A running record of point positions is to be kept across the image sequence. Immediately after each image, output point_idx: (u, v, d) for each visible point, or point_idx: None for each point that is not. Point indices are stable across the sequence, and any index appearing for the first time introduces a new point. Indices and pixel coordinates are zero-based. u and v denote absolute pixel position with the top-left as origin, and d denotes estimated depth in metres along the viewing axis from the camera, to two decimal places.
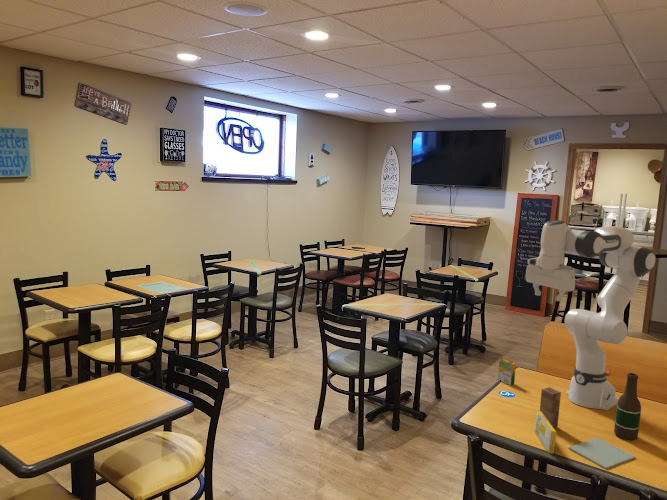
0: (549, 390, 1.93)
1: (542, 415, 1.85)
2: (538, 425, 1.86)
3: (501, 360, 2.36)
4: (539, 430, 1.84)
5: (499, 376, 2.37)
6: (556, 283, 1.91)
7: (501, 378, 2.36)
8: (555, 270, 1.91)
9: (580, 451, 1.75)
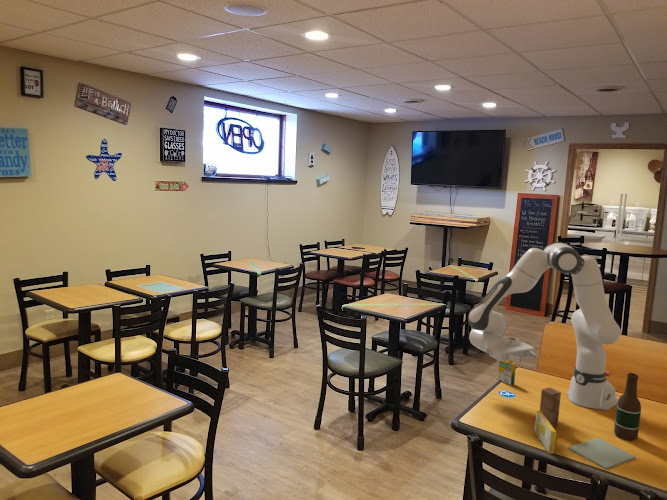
0: (549, 390, 1.93)
1: (542, 415, 1.85)
2: (538, 425, 1.86)
3: None
4: (539, 430, 1.84)
5: (499, 376, 2.37)
6: None
7: (501, 378, 2.36)
8: None
9: (580, 451, 1.75)
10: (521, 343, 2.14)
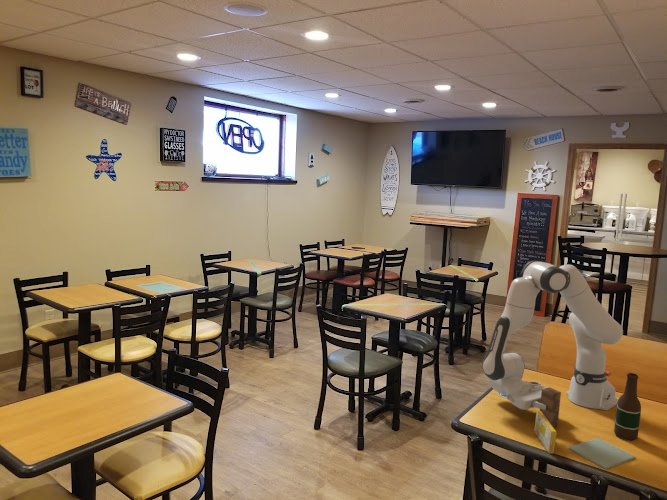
0: (549, 390, 1.93)
1: (542, 415, 1.85)
2: (538, 425, 1.86)
3: None
4: (539, 430, 1.84)
5: None
6: None
7: None
8: None
9: (580, 451, 1.75)
10: (544, 387, 2.05)
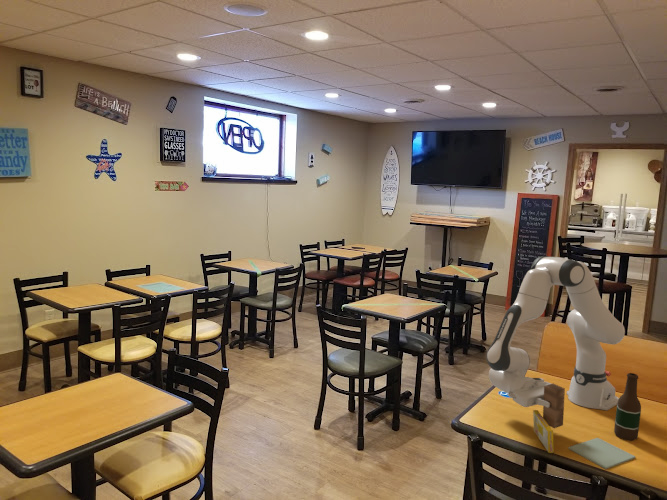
0: (552, 387, 1.81)
1: (539, 414, 1.85)
2: (536, 425, 1.86)
3: None
4: (538, 430, 1.84)
5: None
6: None
7: None
8: None
9: (580, 451, 1.75)
10: (547, 384, 1.93)
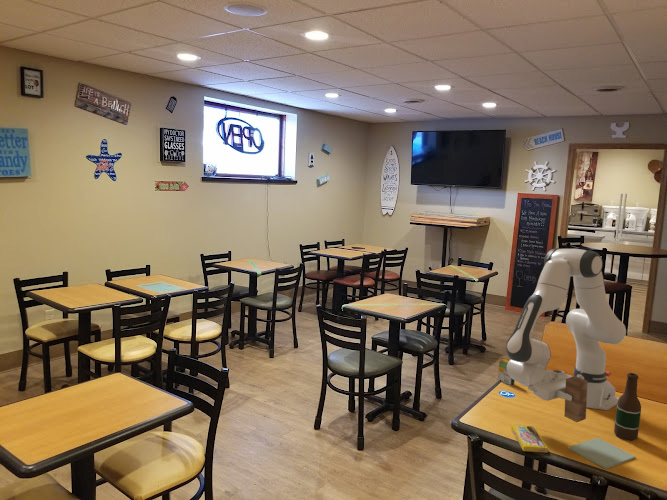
0: (574, 379, 1.74)
1: (513, 430, 1.87)
2: None
3: (501, 360, 2.36)
4: None
5: (499, 376, 2.37)
6: None
7: (501, 378, 2.36)
8: None
9: (580, 451, 1.75)
10: (568, 376, 1.86)
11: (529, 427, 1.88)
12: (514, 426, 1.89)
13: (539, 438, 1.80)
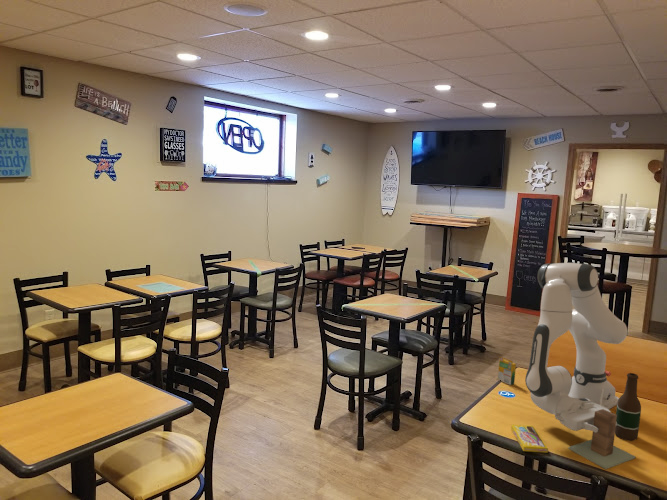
0: (603, 412, 1.73)
1: (513, 430, 1.87)
2: None
3: (501, 360, 2.36)
4: None
5: (499, 376, 2.37)
6: None
7: (501, 378, 2.36)
8: None
9: (580, 451, 1.75)
10: (594, 405, 1.85)
11: (529, 427, 1.88)
12: (514, 426, 1.89)
13: (539, 438, 1.80)
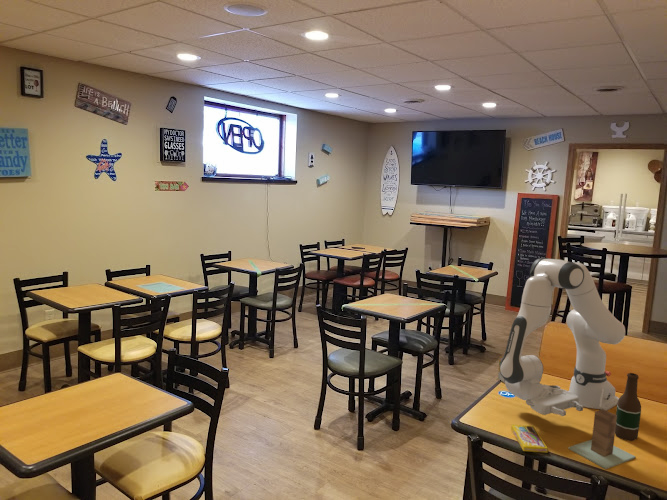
0: (603, 413, 1.73)
1: (513, 430, 1.87)
2: None
3: None
4: None
5: (499, 376, 2.37)
6: None
7: (501, 378, 2.36)
8: None
9: (580, 451, 1.75)
10: (563, 391, 1.97)
11: (529, 427, 1.88)
12: (514, 426, 1.89)
13: (539, 438, 1.80)
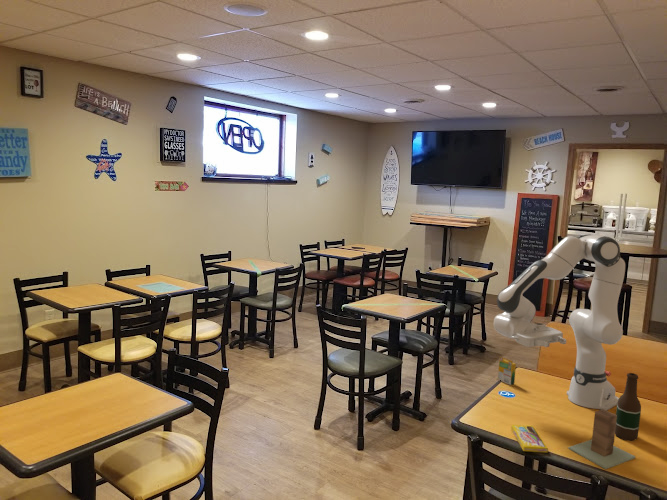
0: (603, 413, 1.73)
1: (513, 430, 1.87)
2: None
3: (501, 360, 2.36)
4: None
5: (499, 376, 2.37)
6: None
7: (501, 378, 2.36)
8: None
9: (580, 451, 1.75)
10: (548, 328, 2.04)
11: (529, 427, 1.88)
12: (514, 426, 1.89)
13: (539, 438, 1.80)
